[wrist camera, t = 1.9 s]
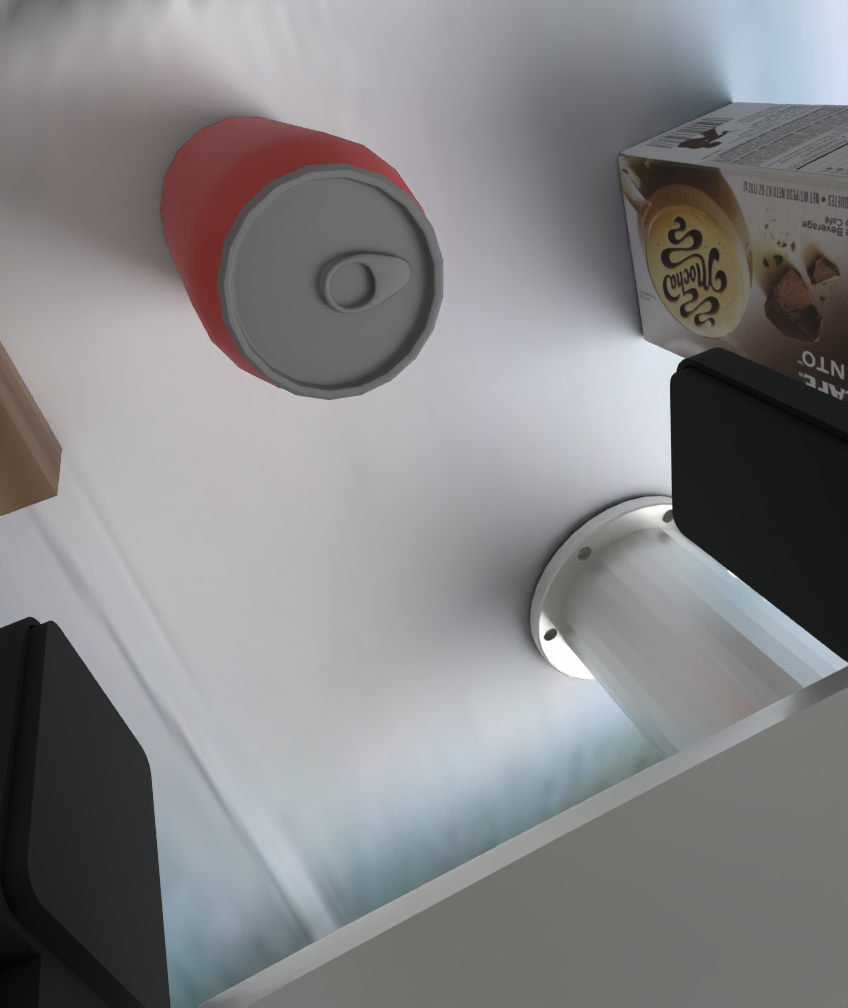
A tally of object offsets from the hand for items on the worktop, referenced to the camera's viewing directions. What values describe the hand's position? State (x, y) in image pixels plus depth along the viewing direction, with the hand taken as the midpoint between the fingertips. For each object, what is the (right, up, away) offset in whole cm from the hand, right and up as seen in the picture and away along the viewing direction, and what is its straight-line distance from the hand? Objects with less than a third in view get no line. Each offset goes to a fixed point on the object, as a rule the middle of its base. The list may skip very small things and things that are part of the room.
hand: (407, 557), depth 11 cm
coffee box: (+12, +14, +24) cm, 30 cm away
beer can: (-6, +12, +17) cm, 21 cm away
